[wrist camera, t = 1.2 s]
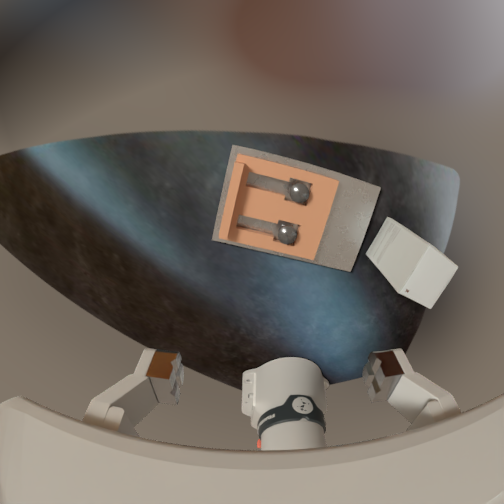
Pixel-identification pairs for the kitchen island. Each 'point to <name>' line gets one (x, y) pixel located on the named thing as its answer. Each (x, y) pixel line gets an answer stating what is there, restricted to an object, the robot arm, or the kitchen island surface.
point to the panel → (277, 207)
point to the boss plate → (341, 214)
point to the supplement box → (410, 263)
